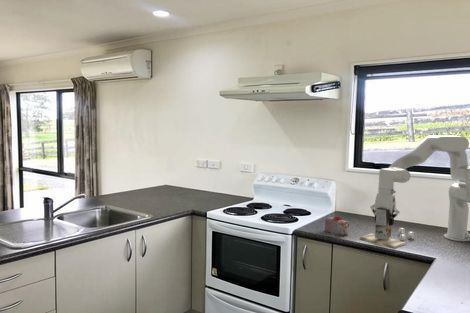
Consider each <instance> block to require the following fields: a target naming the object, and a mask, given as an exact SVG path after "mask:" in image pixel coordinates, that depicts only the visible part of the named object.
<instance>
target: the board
mask: <svg viewBox="0 0 470 313" xmlns="http://www.w3.org/2000/svg"><path fill="white" fill-rule="evenodd" d="M359 239H360V240H362V241H365V242H369V243H374V244H377V245H381V246H384V247H386V248H387V247H388V248H391V249H397V248H400V247H402V246H404V245H405V246H406V245H407V244H406V243H407V242H403V241H400V239H395V238H391V237H389V238H388V239H387V240H385V239H379V238H375V233H369V234H365V235H362V236H360V237H359Z"/></svg>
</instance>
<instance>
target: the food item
mask: <svg viewBox="0 0 470 313" xmlns="http://www.w3.org/2000/svg"><path fill="white" fill-rule="evenodd" d="M324 222H325V223H324V224H325V225H324V232H326V233H327V232H328V233H329V234H332V235H337V236H341V237H342V236H348V234H349V226H350V221H348V220H343V218H342V217H341V216H335V217H332V216H329V217H326V218H325V221H324Z"/></svg>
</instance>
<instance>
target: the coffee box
mask: <svg viewBox="0 0 470 313" xmlns="http://www.w3.org/2000/svg"><path fill="white" fill-rule="evenodd" d="M389 218H390V216H389V210H387V209H382V208H377V212H376V223H375V231H374V234H375V238H379V239H385V240H387V239H388V238H391V236H392V227H393V225H392V226H389Z"/></svg>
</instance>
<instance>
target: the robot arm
mask: <svg viewBox="0 0 470 313" xmlns="http://www.w3.org/2000/svg"><path fill="white" fill-rule="evenodd" d="M469 146H470V141H469V139H468V138H467V137H465V136H464V135H463V136H462V135H450V134H449V135H435V134H432V135H431V134H430V135H427V136H426V137H425V138H424V139H423V140H422V141H420V143H419V144H417V146H416V147H415V148H413V150H411V151H410V152H408V153H406V154H405V155H403V156H401V157H399V158H397V159H396V160H395V161H393V162H392V163H391V164H390V165H389V166H388V167H385V168H383V167H382V168H380V169H379V174H378V175H379V176H378V188H377V190H378V191H377V193H376V196H375V199H374V200H375V202H374V204H373V205H370V207H369V208H370V209H371V211H372V213H373V215H374V223H375V224H376V212H377V208H382V209H387V210H389V216H390V218H389V226H392V227H393V225H394V220H395V218H396V217H397V216H398V215H399V214H400V213H401V212H400V210H399V209H397V205H396V204H397V201H396V195H395V194H396V190H395V187H394V186H395V183H400V184H404V183H407V182H409V181H410V180H411V173H410V172H409V171H408V170H407V169H408V168H410V167H414V166H418V165H422V164H424V163H425V162H426V161H428V159H429V158H430V157H431V156H432V155H433V154H434V153H435V152H442V153H447V155H448V157H449V166H450V177H451V179H452V180H454V181H456V182H455V183H453V184H451V185H450V186H449V188H448V199H449V207H448V208H449V209H448V210H449V211H448V220H447V221H448V222H447V232H446V233H444V234H443V237H444V238H445V239H447V240H451V241H456V242H470V233H469V231H468V221H469V211H470V210H469V209H470V208H469V204H470V165H469V163H468V155H467V152H466V151H467V150H468V148H469Z"/></svg>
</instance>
